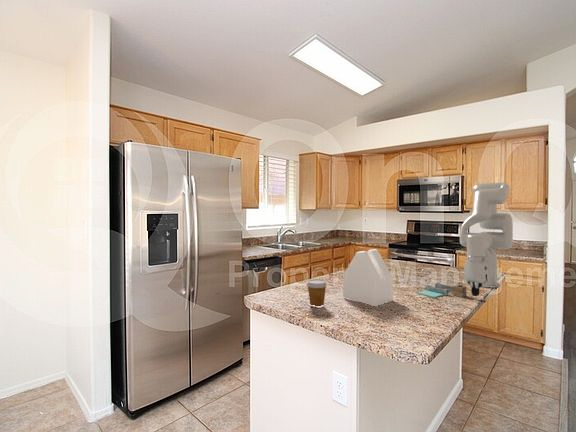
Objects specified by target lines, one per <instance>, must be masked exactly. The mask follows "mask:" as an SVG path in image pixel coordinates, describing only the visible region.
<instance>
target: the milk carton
mask: <svg viewBox="0 0 576 432" xmlns="http://www.w3.org/2000/svg"><path fill="white" fill-rule="evenodd" d="M393 285H394V279H393V275H392V274H391V272H390V270H389V268H388V266H387V264H386V263H385V261H384V259H383V256H382V255H381V253H380V252H379V250H378V248H377V249H376V248H374V249H368V250H362V251H361V250H360V251H357V252H355V255H354V256H353V258H352V259H351V262H350V263H349V264H348V266H347V269H346V270H345V272H344V274H343V276H342V298H343V297H346V298H349V299H352V300H356V301H359V302H362V303H366V304H369V305H373V306H377V305H380V306H381V304H382V305H385V304H386V303H387V304H388V303H390V302H392V301H394V292H393V291H394V288H393V287H394V286H393ZM362 303H361V304H362ZM384 303H385V304H384ZM366 304H365V305H366ZM369 305H368V306H369ZM373 306H372V307H373ZM377 307H378V306H377Z"/></svg>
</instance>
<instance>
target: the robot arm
mask: <svg viewBox="0 0 576 432" xmlns="http://www.w3.org/2000/svg"><path fill="white" fill-rule="evenodd" d="M472 194H473V202H472V203H473V204H472V211H471V214H470V215H469V217H467V218H466V219H465V220H464V221H463V223H462V224H461V226H460V230H459V231H460V232H459V243H460V245H461V246H462V247H466V260H465V262H464V266H463V282H464V283H466V284H468V285H469V286H470V288H471V290H470V291H471V296H474V297H478V296H479V295H480V288H481V287H483V288H489V287H490V288H493V289H494V288H495V289H496V288H501V283H499V282H498V281H500V278H499V277H498V254H497V252H495V250H493V249H496V250H497V249H499V250H508V249H511V248H512V247H513V241H514V238H513V237H514V233H513V230H514V229H513V228H514V227H513V226H514V225H513V217H512V215H511V214H509V213H506V212H505V213H504V212H503V213H502V212H501V213H499V212H497V206H498V205H504V204H505V203H506V202H507V199H508V197H509V194H510V187H509V184H508V183H507V182H489V183H488V182H487V183H486V182H485V183H478V184H475V185H474V186H473V187H472ZM476 224H479V227H480V228H481V229H483V230H492V231H481V232H468V230H469V229H470V227H472V226H474V225H476ZM493 230H494V231H493ZM498 230H500V231H498ZM490 288H489V289H490Z"/></svg>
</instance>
